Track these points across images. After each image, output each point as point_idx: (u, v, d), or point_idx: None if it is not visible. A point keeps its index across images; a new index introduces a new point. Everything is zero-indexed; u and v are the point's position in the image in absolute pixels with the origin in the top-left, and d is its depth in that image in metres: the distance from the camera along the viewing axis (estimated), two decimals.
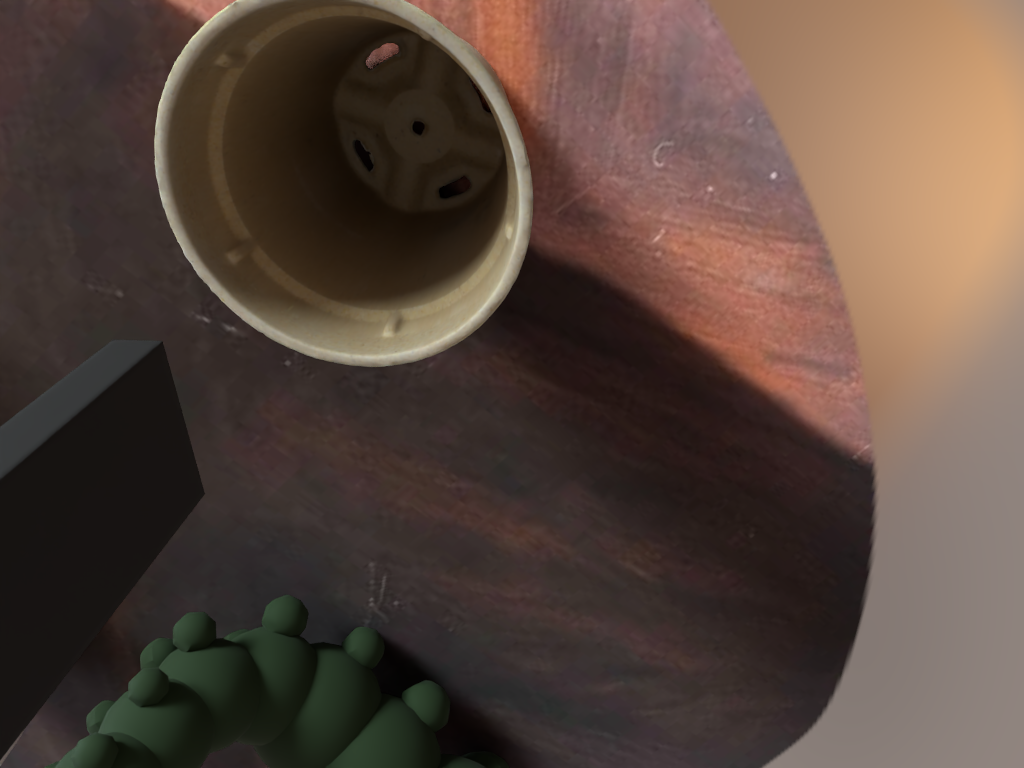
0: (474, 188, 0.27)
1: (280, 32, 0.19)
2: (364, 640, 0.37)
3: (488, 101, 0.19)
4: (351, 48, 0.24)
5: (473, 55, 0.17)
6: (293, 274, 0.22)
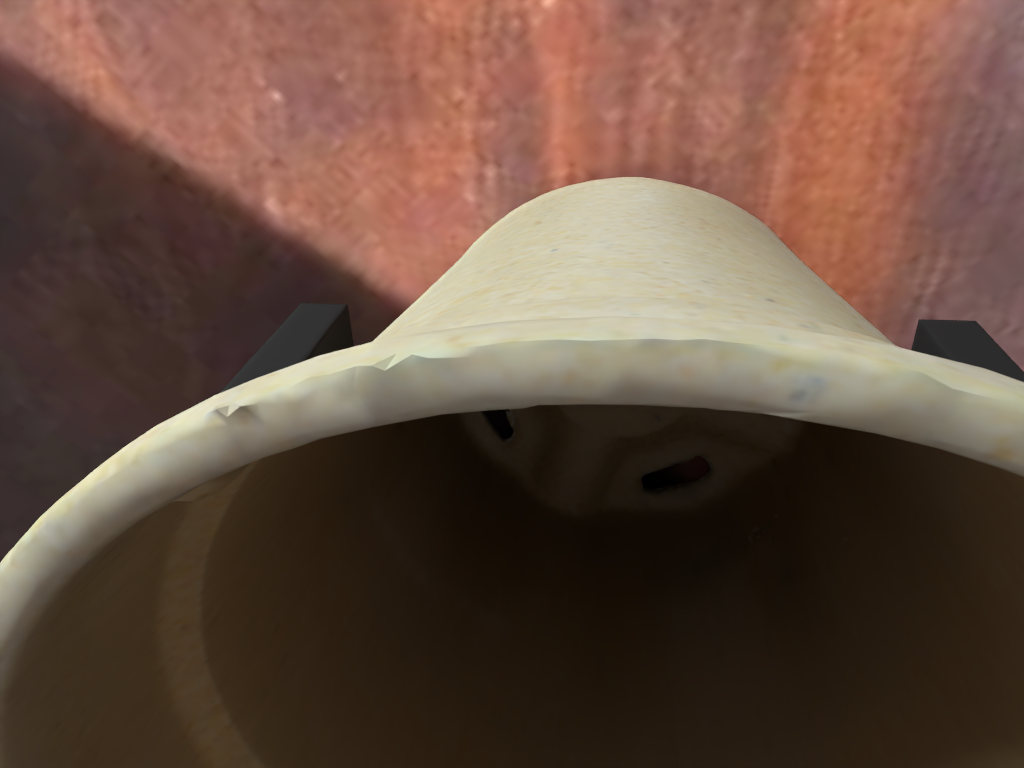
0: (719, 481, 0.13)
1: None
2: None
3: None
4: None
5: None
6: None
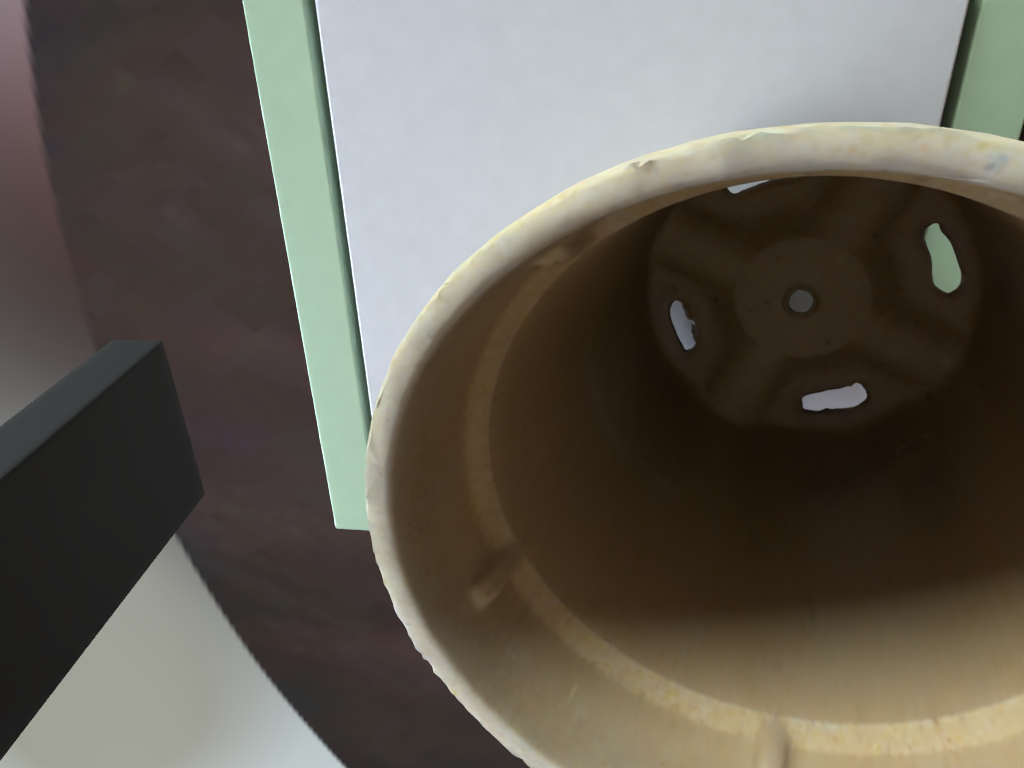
0: (874, 407, 0.15)
1: (688, 196, 0.08)
2: None
3: None
4: None
5: None
6: (577, 604, 0.12)
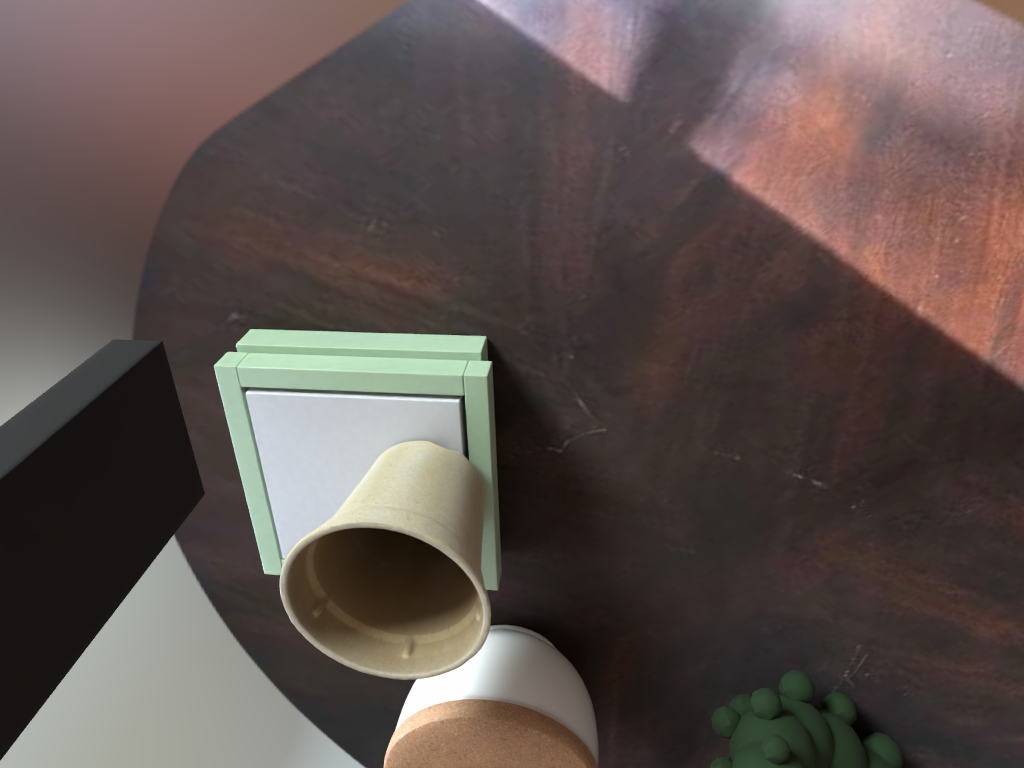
0: None
1: None
2: (846, 704, 0.48)
3: None
4: None
5: (460, 559, 0.32)
6: (349, 611, 0.37)
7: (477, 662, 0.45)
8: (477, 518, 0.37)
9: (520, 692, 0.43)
